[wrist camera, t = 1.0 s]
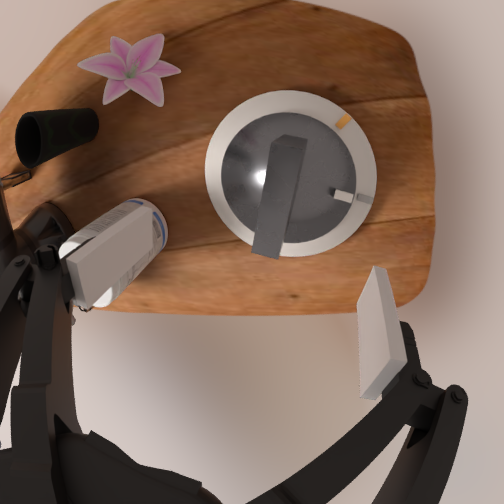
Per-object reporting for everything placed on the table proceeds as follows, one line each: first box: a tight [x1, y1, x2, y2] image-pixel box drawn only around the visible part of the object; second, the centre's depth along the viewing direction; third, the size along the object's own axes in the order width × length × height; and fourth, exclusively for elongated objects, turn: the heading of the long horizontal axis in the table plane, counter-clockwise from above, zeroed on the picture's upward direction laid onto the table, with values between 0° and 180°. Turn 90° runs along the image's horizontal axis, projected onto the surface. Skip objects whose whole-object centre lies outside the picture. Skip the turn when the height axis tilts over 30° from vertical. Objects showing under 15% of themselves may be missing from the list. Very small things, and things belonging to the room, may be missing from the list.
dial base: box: [205, 90, 377, 257], centre depth 32 cm, size 20×20×2 cm
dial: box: [221, 112, 356, 259], centre depth 27 cm, size 15×15×9 cm
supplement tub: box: [59, 198, 168, 307], centre depth 35 cm, size 10×10×15 cm
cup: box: [15, 108, 99, 169], centre depth 30 cm, size 8×8×12 cm
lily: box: [77, 34, 181, 107], centre depth 27 cm, size 12×12×10 cm
